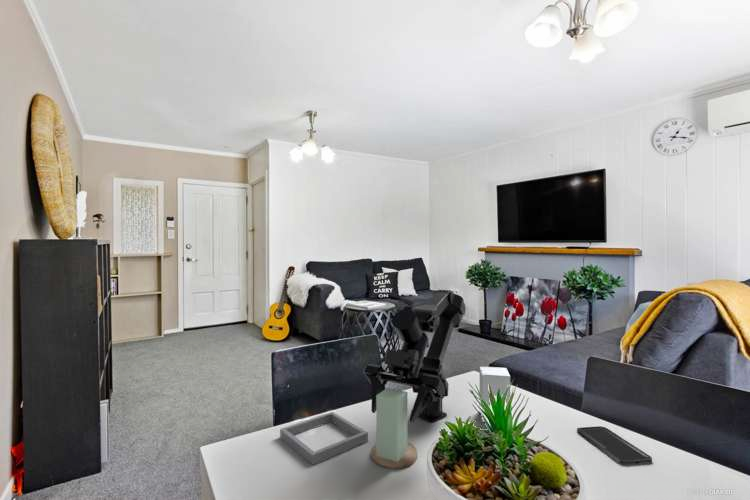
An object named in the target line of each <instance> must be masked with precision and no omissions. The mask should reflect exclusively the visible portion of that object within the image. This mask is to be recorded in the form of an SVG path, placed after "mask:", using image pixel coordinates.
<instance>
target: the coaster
mask: <svg viewBox="0 0 750 500" xmlns="http://www.w3.org/2000/svg"><path fill="white" fill-rule="evenodd" d="M370 456H371V459H372V461H373V462H374V463H375V464H376V465H378V466H380V467H382V468H385V469H392V470H399V469H405V468H408V467H411V466H412V465H414V464H415V463H416V462H417V459H418V450H417V448H416V447H415V445H413V444H412V443H411V442H408V441H407V452H406V453H405V454H404V456H403V457H402V458H401V459H400V460H399V461H398V462H395V461H391V460H388V459H385V458H382V457H378V456H376V443H375V444H373V446H372V448H371V455H370Z"/></svg>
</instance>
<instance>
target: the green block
mask: <svg viewBox="0 0 750 500" xmlns="http://www.w3.org/2000/svg"><path fill="white" fill-rule="evenodd" d="M375 413H376V415H375V416H376V423H375V424H376V426H375V427H376V431H375V432H376V443H375V444H376V456H378V457H382V458H385V459H388V460H391V461H395V462H398V461H399V460H400V459H401V458H402V457H403V456H404V454H405V453H406V452H407V442H408V391H405V390H400V389H399V390H398V389H395V388H391V387H385V390H383V391H382V392H381V393H379V394H378V395H376V411H375Z"/></svg>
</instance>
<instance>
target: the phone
mask: <svg viewBox="0 0 750 500" xmlns="http://www.w3.org/2000/svg"><path fill="white" fill-rule="evenodd" d="M576 433H577V435H580V436H581V437H582V438H584V439H585V440H587V442H589V443H590V444H592V445H593V446H594V447H596V448H597V449H599V450H600V451H601V452H603V454H605V455H607V456H608V457H609V458H611V459H612V460H613V461H614V462H616V463H618V464H619V465H622V466H634V465H633V464H635V465H645V464H646V465H647V464H652V462H653V457H652V456H650V455H649V454H647V453H646V452H644V451H643V450H642V449H640V448H638V447H637V446H635V445H634V444H632V443H630V442H629V441H627V439H624V438H623V437H622V436H620V435H618V434H617V433H615V432H613V431H612V430H610V429H609V428H607V427H605V426H600V425H599V426H586V427H583V426H582V427H577V428H576Z"/></svg>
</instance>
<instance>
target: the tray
mask: <svg viewBox="0 0 750 500" xmlns="http://www.w3.org/2000/svg"><path fill="white" fill-rule="evenodd" d="M330 421H332V422H330ZM327 422H328V423H333V424H334V425H336V424H337V426H338V427H339V426H340V427H339V428H341V429H342V428H343V430H344V431H345V432H347V433H349V434H351V435H352V436H349V437H346V438H345V439H342V440H340V441H338V442H334V443H332V444H330V445H327V446H325V447H323V448H320V449H317V450H313V449H311V448H310V447H309V446H307V445H306V444H305V443H304V442H303V441H301V439H299V438H298V437H296V436H295V435H297V433H298V434H300V433H303V432H305V430H306V431H309V430H311V429H310V428H312V429H314V428H316V427H315V426H317V427H319V426H318V425H320V426H322V425H321V424H323V425H325V424H324V423H326V424H327ZM313 427H314V428H313ZM308 429H309V430H308ZM302 431H303V432H302ZM299 432H300V433H299ZM279 434H280V435H279V437H280V439H282V440H283V441H284V442H285V443H286V444H287V445H289V446H290V447H291V448H292V449H293V450H294V451H295V452H297V453H298V455H301V456H302V457H303V458H304V459H305V460H306V461H308V462H309V464H311V465H316V464H317V463H320V462H322V461H325V460H327V459H330V458H332V457H334V456H337V455H339V454H342V453H344V452H346V451H348V450H351V449H352V448H355V447H358V446H360V445H362V444H364V443H366V442H368V441H369V432H367V431H366V430H364V429H362V428H361V427H359V426H358V425H356V424H354V423H353V422H351V421H349V420H348V419H346V418H345V417H342V416H341V415H338V414H337V413H335V412H334V411H330V412H327V413H324V414H321V415H317V416H315V417H311V418H310V419H309V418H308V419H306V420H303V421H300V422H297V423H294V424H291V425H289V426H286V427H283V428H279ZM294 434H295V435H294Z"/></svg>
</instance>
